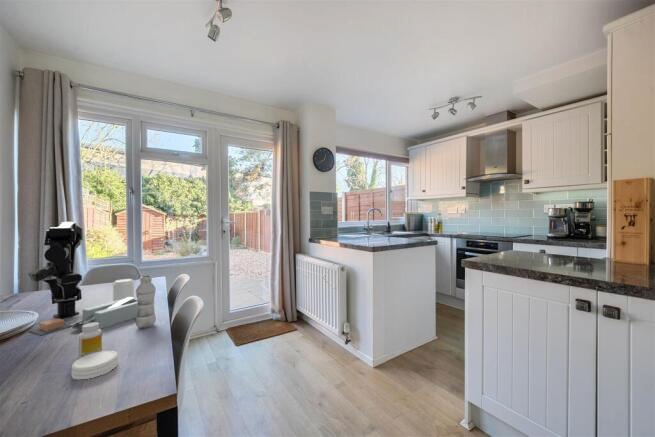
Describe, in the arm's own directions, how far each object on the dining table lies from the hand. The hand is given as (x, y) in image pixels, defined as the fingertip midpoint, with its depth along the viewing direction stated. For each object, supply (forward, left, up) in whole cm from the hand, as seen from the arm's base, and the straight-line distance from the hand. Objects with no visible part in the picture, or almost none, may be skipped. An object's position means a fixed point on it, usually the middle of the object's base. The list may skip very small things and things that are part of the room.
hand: (60, 298), depth 105 cm
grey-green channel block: (+11, +14, -11) cm, 21 cm away
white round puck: (+48, -12, -12) cm, 51 cm away
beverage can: (-6, +26, -12) cm, 29 cm away
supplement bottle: (+37, -8, -11) cm, 40 cm away
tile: (0, -2, -11) cm, 11 cm away
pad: (0, -3, -11) cm, 12 cm away
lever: (+11, +10, -8) cm, 17 cm away
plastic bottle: (+31, +13, -11) cm, 36 cm away
